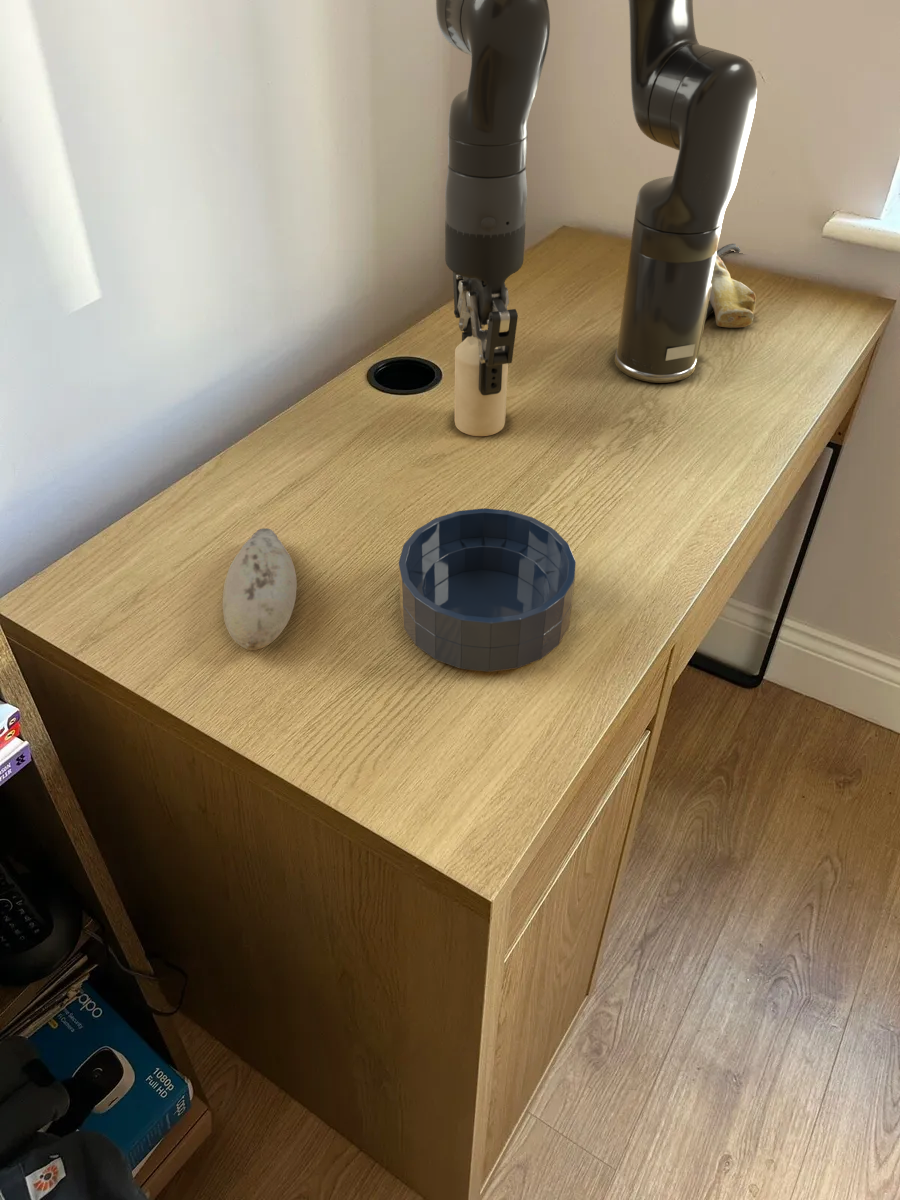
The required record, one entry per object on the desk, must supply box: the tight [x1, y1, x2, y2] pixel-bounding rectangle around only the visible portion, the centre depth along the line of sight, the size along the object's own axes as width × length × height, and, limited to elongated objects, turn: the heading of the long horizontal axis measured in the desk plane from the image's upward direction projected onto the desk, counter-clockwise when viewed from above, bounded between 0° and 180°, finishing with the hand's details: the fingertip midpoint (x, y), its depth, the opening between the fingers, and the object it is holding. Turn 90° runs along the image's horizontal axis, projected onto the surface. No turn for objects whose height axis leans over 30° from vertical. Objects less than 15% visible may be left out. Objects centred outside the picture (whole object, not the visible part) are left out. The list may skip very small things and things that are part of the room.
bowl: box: [398, 507, 577, 673], centre depth 80 cm, size 14×14×6 cm
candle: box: [453, 335, 509, 437], centre depth 101 cm, size 6×6×10 cm
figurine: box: [709, 254, 757, 329], centre depth 125 cm, size 5×5×15 cm
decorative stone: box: [222, 527, 298, 651], centre depth 82 cm, size 6×16×3 cm, turn 7°
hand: (480, 377), depth 101 cm, fingers closed on candle, 5 cm apart
